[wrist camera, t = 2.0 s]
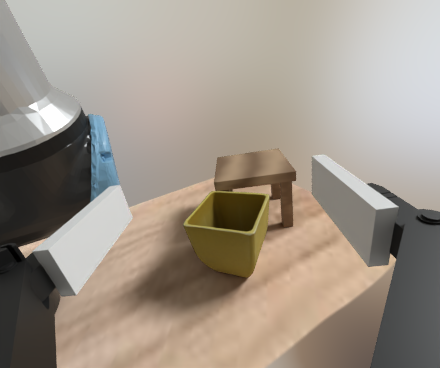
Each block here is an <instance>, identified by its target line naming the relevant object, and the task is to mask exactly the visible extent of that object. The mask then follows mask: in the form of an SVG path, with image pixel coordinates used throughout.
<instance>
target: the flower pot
mask: <svg viewBox="0 0 440 368" xmlns="http://www.w3.org/2000/svg"><path fill="white" fill-rule="evenodd" d="M268 212H269V194H262V193H247V192H226V191H212V192H210V193H209V194H208V195H207V196H206V198H205V199H204V200H203V201H202V202H201V204H200V205H199V206H198V207H197V208H196V209H195V210H194V211H193V212H192V214H191V215H190V216H189V217H188V218H187V219H186V220H185V222H184V224H183V226H184V228H185V230H186V233H187V235H188V237H189V240H190V242H191V244H192V246H193V249H194V251H195V253H196V254H197V256H198V257H199V259H200V260H201V261H202V262H203V263H204V264H206V265H207V266H208V267H210V268H212V269H213V270H215V271H218V272H223V273H228V274H232V275H237V276H241V277H246V278H247V277H249V276H250V275H251V274H252V273H253V271H254V269H255V265H256V262H257V259H258V256H259V253H260V250H261V247H262V244H263V241H264V238H265V235H266V231H267V226H268Z"/></svg>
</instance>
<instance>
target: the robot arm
mask: <svg viewBox="0 0 440 368" xmlns="http://www.w3.org/2000/svg"><path fill="white" fill-rule="evenodd" d="M312 195H313V196H314V197H315V199H316V200H317V201H318V203H319V204H320V205H321V206H322V208H323V209H324V210H325V212H326V213H327V214H328V215H329V217H330V218H331V219H332V221H333V222H334V223H335V224H336V226H337V227H338V228H339V230H340V231H341V232H342V233H343V235H344V236H345V237H346V239H347V240H348V241H349V242H350V244H351V245H352V246H353V248H354V249H355V250H356V251H357V253H358V254H359V255H360V257H361V258H362V259H363V260H364V262H365V263H366V264H367V266H368V267H371V266H382V265H388V263H389V258H390V253H391V254H392V255H393V256H394V257H395V258H396V263H395V268H394V272H393V276H392V280H391V284H390V288H389V292H388V296H387V301H386V305H385V309H384V313H383V317H382V321H381V325H380V330H379V334H378V338H377V342H376V346H375V351H374V354H373V359H372V363H371V367H370V368H440V212H438V211H433V210H426V209H419V210H418V209H416V208H415V207H413V206H412V205H410V204H409V203H407V202H405V201H404V200H402V199H401V198H399V197H397V196H396V195H394V194H393V193H391V192H390V191H388V190H387V189H385V188H384V187H382V186H379V185H376V184H373V183H370V184H366V183H364V182H363V181H361V180H360V179H358V178H357V177H356V176H354V175H353V174H351V173H350V172H348V171H347V170H346V169H344V168H343V167H341V166H340V165H339V164H337V163H336V162H334V161H333V160H331V159H330V158H329V157H327V156H326V155H324V154H323V155H317V156H312ZM132 218H133V217H132V215H131V212H130V210H129V207H128V204H127V202H126V200H125V197H124V194H123V192H122V189H121V187H120V183H119V179H118V175H117V171H116V166H115V162H114V158H113V155H112V150H111V146H110V142H109V138H108V134H107V130H106V126H105V122H104V119H103V117H101V116H99V115H93V114H89V115H88V116H87V117H86V116H85V114H84V112H83V110H82V108H81V106H80V103H79V102H78V100H77V99H76V98H75V97H74V96H72V95H70V94H67V93H66V92H64V91H61V90H59V89H57V88H55V87H53V86H52V85H51V84H50V83H49V82H48V80H47V78H46V76H45V74H44V72H43V71H42V69H41V67H40V65H39V63H38V61H37V59H36V57H35V56H34V54H33V52H32V50H31V48H30V46H29V44H28V42H27V41H26V39H25V37H24V35H23V33H22V31H21V30H20V27H19V26H18V24H17V22H16V20H15V18H14V16H13V14H12V13H11V11H10V9H9V7H8V5H7V3H6V1H5V0H0V368H57V364H56V340H55V316H54V314H55V312H56V310H57V308H58V305H59V300H60V295H61V296H72V295H77V294H78V292H79V291H80V290H81V288H82V287H83V285H84V284H85V283H86V281H87V280H88V279H89V277H90V276H91V274H92V273H93V272H94V270H95V269H96V268H97V266H98V265H99V263H100V262H101V261H102V259H103V258H104V257H105V255H106V254H107V253H108V251H109V250H110V248H111V247H112V246H113V244H114V243H115V242H116V240H117V239H118V237H119V236H120V235H121V233H122V232H123V231H124V229H125V228H126V226H127V225H128V224H129V222H130V221H131V220H132ZM48 237H49V238H48ZM45 238H48V239H46V240H45V241H44V242H43V243H42V244H40V245H39V246H38V247H37V248H36V249H35V250H33V251H32V252H33V253H31V254H30V255H29V256H28V257H27V258H25V257H24V255H23V254H22V253H21V251H20V250H19V248H18V247H20V246H23V245H27V244H30V243H33V242H36V241H39V240H42V239H45Z"/></svg>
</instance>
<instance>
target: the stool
mask: <svg viewBox="0 0 440 368" xmlns="http://www.w3.org/2000/svg"><path fill="white" fill-rule="evenodd" d="M292 181H296V171H295V170H294V168H293V167H292V166H291V164H290V163H289V162H288V161H287V159H286V158H285V157H284V155H283V154H282V153H281V151H280V150H279V149H271V150H265V151H258V152H251V153H245V154H239V155H231V156H224V157H218V158H217V164H216V172H215V179H214V185H215V190H216V191H226V192H233V189H237V188H245V187H252V186H260V185H267V184H271V193H272V198H273V199H280V198H281V216H282V224H283V226H284V227H291V226H293V206H292Z"/></svg>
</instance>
